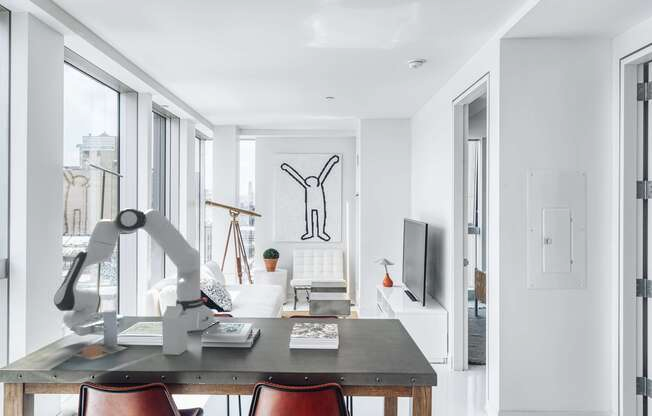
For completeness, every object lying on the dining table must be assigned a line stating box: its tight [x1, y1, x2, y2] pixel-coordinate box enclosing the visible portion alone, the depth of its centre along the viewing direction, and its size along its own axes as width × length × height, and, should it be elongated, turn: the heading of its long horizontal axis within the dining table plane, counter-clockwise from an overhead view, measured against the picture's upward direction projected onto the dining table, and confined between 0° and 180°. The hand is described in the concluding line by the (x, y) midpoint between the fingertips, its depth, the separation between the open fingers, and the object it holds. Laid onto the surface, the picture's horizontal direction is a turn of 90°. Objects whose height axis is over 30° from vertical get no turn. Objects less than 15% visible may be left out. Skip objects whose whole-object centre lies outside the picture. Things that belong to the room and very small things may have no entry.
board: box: [74, 344, 127, 361], centre depth 184 cm, size 16×11×1 cm
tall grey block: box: [102, 309, 118, 347], centre depth 187 cm, size 5×5×14 cm
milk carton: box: [161, 305, 188, 356], centre depth 185 cm, size 7×7×19 cm
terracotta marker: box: [82, 343, 103, 357], centre depth 180 cm, size 5×5×3 cm
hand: (111, 327), depth 187 cm, fingers closed on tall grey block, 5 cm apart
